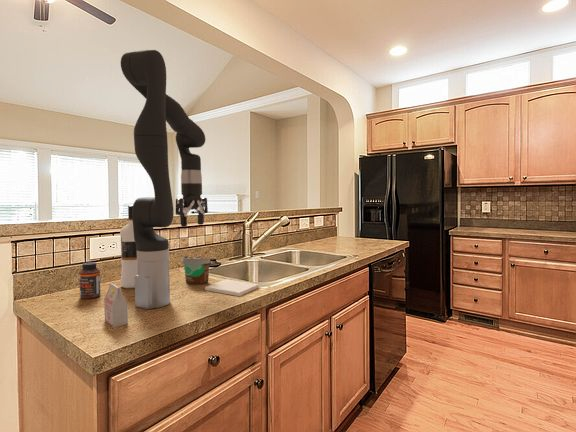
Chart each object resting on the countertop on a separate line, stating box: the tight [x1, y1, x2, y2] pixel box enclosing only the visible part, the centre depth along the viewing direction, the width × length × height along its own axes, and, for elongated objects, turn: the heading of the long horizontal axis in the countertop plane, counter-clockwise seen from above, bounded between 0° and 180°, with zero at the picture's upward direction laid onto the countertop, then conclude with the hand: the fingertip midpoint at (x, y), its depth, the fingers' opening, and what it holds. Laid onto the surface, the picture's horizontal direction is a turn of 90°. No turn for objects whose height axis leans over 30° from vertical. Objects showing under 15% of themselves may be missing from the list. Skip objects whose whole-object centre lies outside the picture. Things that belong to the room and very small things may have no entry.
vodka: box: [119, 204, 137, 289], centre depth 126 cm, size 9×9×30 cm
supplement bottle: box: [78, 261, 101, 300], centre depth 113 cm, size 6×6×11 cm
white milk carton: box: [103, 282, 129, 328], centre depth 91 cm, size 4×7×10 cm, turn 44°
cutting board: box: [204, 278, 260, 297], centre depth 122 cm, size 12×15×1 cm
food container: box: [181, 254, 211, 286], centre depth 130 cm, size 12×6×10 cm, turn 62°
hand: (192, 225), depth 129 cm, fingers open, 8 cm apart
